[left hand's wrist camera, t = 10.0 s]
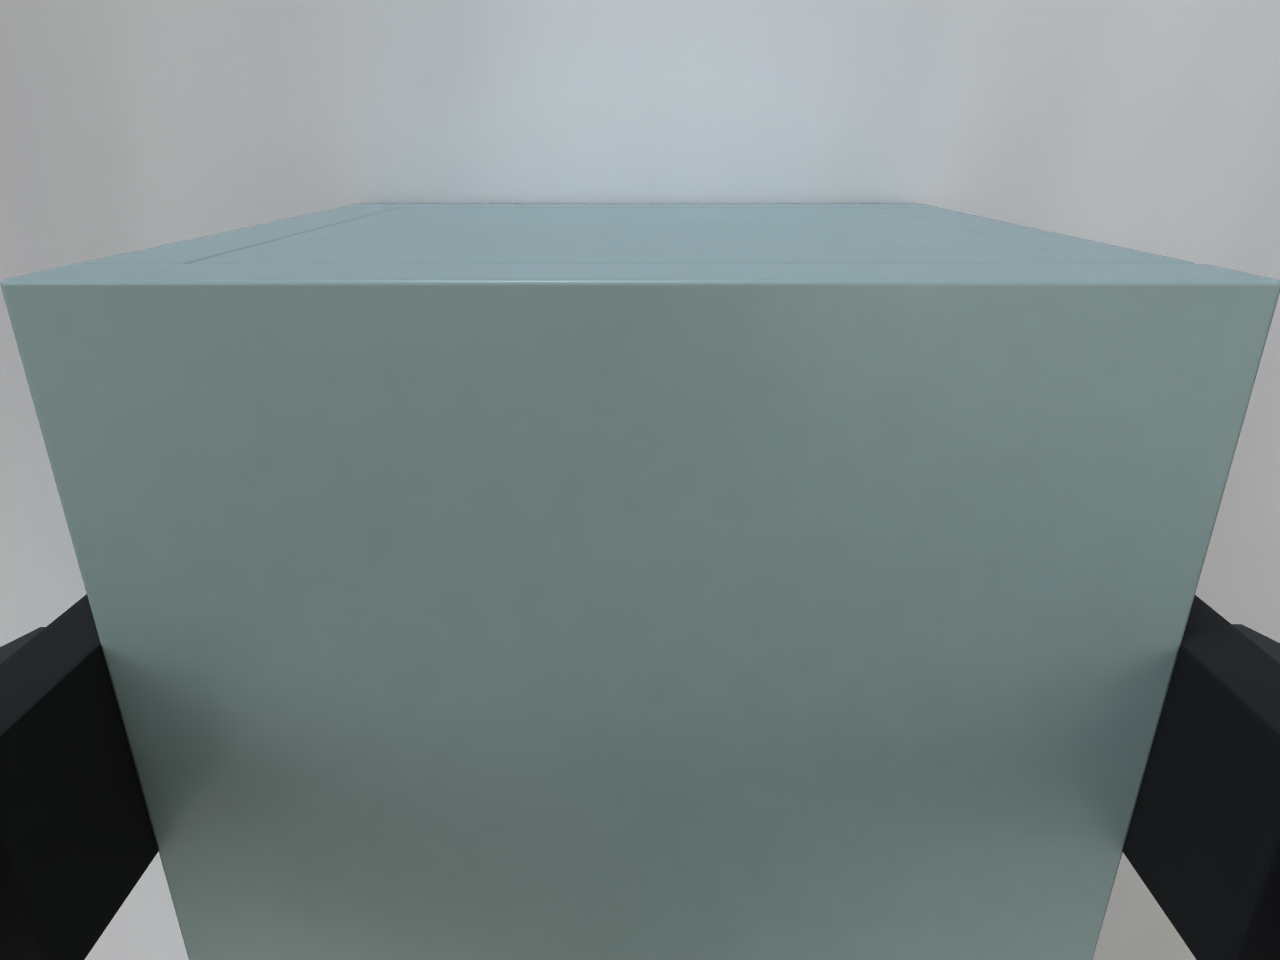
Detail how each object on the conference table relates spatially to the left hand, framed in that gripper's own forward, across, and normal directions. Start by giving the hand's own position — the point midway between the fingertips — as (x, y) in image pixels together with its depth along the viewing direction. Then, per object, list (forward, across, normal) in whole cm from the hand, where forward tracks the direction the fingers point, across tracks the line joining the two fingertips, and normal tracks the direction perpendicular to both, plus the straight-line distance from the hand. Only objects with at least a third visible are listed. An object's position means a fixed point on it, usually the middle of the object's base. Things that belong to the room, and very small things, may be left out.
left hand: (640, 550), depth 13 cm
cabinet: (+5, 0, -6) cm, 7 cm away
